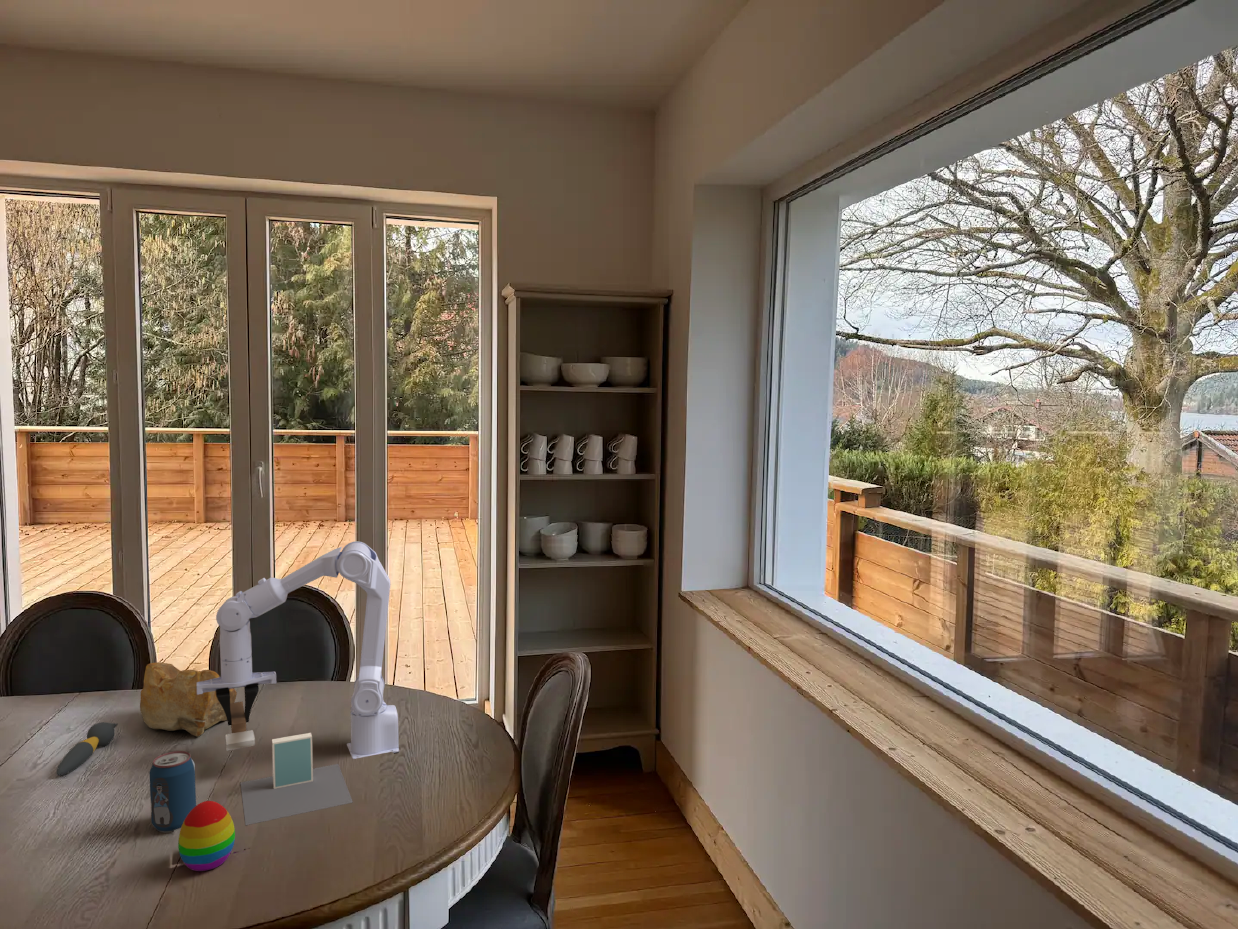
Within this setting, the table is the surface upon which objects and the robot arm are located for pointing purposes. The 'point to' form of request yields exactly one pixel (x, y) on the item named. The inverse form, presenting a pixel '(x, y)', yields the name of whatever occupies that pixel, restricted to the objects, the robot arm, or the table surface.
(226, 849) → the decorative egg
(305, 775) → the tile
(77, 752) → the paintbrush
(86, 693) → the table surface
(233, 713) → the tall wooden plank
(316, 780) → the mat
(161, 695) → the rough brown rock
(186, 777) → the soda can
